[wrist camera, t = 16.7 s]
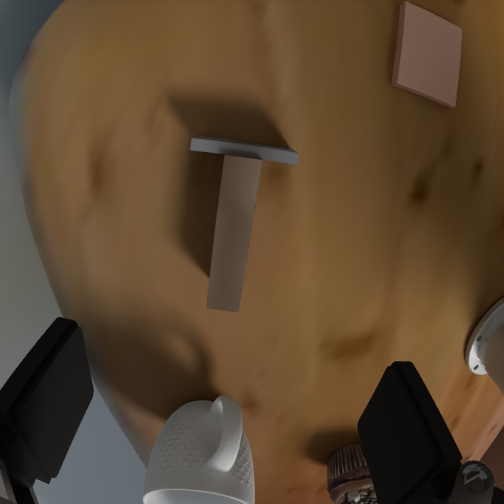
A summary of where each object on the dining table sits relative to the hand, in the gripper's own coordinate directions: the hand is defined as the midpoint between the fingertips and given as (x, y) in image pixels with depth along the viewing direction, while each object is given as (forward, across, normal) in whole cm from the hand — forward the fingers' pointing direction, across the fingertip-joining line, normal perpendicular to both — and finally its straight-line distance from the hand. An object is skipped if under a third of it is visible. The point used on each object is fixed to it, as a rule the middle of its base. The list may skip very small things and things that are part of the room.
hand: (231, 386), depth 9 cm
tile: (+18, -13, -13) cm, 26 cm away
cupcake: (+19, -21, +34) cm, 44 cm away
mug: (+19, +1, +24) cm, 30 cm away
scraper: (+18, +1, 0) cm, 18 cm away
